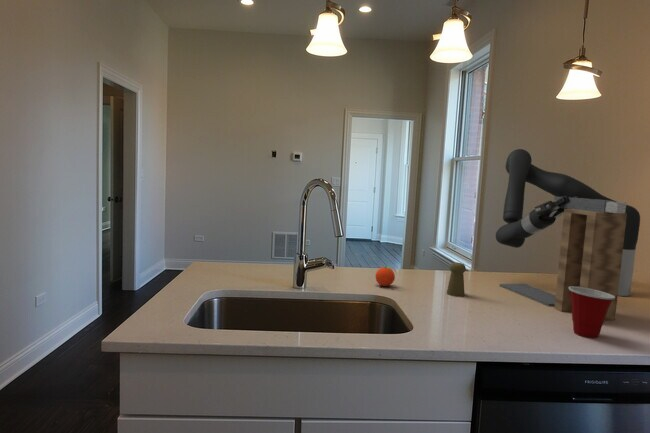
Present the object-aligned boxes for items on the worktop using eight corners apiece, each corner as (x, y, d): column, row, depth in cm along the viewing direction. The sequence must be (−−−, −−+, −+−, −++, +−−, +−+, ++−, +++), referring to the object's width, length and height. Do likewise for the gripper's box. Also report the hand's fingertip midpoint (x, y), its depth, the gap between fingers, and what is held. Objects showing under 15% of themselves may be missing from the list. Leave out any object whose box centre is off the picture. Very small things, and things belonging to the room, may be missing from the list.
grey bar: (562, 207, 150) (563, 196, 149) (625, 214, 126) (627, 201, 126) (553, 206, 149) (554, 196, 148) (615, 213, 126) (617, 201, 125)
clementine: (391, 283, 166) (392, 264, 165) (400, 287, 159) (401, 268, 159) (371, 283, 163) (372, 264, 163) (379, 288, 157) (381, 268, 156)
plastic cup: (620, 342, 114) (625, 296, 113) (580, 341, 113) (585, 295, 112) (592, 327, 125) (596, 285, 124) (555, 326, 124) (559, 284, 123)
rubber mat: (524, 285, 172) (524, 283, 172) (576, 305, 147) (577, 303, 147) (499, 285, 170) (499, 283, 170) (548, 306, 145) (548, 303, 144)
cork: (467, 294, 154) (470, 263, 153) (459, 297, 150) (462, 265, 149) (451, 290, 159) (454, 260, 158) (443, 293, 154) (445, 262, 153)
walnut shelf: (583, 307, 145) (593, 209, 142) (614, 319, 133) (626, 213, 130) (554, 308, 142) (564, 208, 139) (584, 321, 131) (595, 212, 128)
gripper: (517, 209, 158) (550, 187, 143) (551, 210, 161) (587, 188, 146) (523, 229, 155) (557, 208, 140) (557, 230, 158) (594, 209, 143)
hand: (572, 198), depth 143 cm, fingers closed on grey bar, 3 cm apart
